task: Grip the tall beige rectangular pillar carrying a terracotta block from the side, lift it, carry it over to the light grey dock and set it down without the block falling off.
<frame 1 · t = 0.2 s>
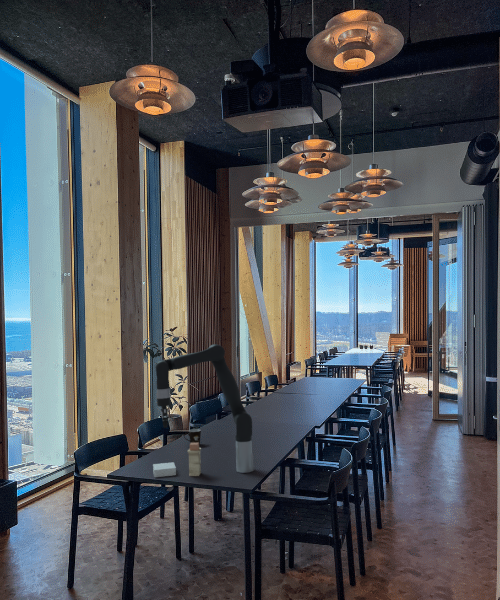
hand: (165, 426, 273), 29 cm above the table, fingers open, 8 cm apart
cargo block: (194, 449, 279), point 14 cm above the table, touching beige rectangular pillar
coffee mug: (193, 445, 347), on the table
beige rectangular pillar: (195, 474, 278), on the table, touching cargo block
dock: (164, 473, 282), on the table
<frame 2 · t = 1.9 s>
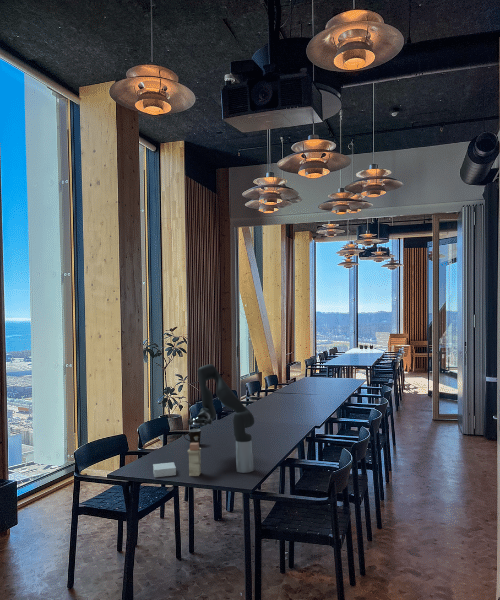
hand: (197, 423, 290), 26 cm above the table, fingers open, 8 cm apart
nothing on the table moved.
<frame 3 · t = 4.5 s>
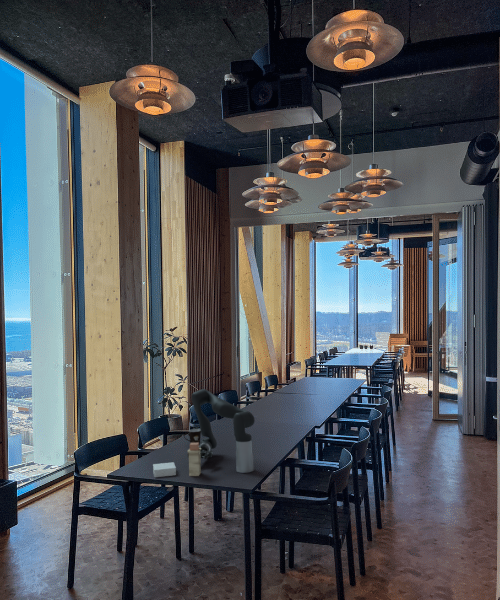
hand: (197, 457, 286), 7 cm above the table, fingers open, 8 cm apart
nothing on the table moved.
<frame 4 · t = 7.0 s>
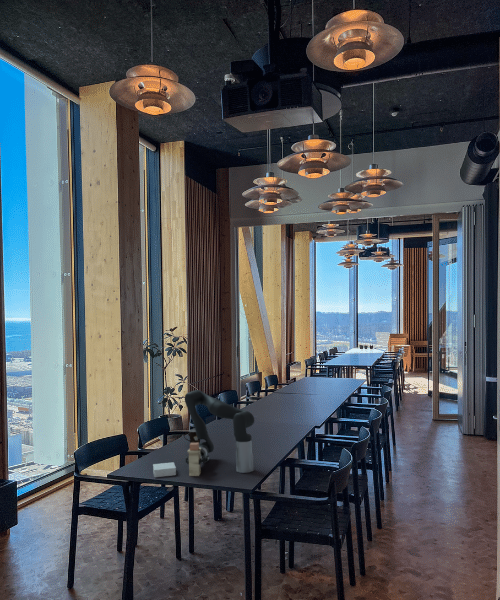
hand: (193, 462, 276), 7 cm above the table, fingers closed on beige rectangular pillar, 5 cm apart
beige rectangular pillar: (195, 474, 278), on the table, touching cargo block, gripper
everything else where it was.
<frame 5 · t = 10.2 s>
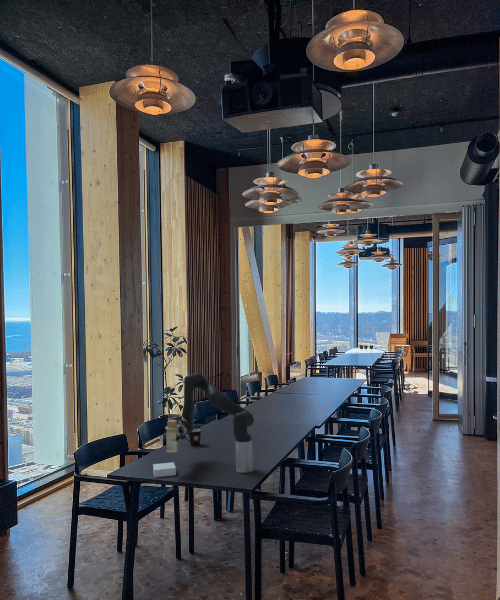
hand: (171, 439, 280), 20 cm above the table, fingers closed on beige rectangular pillar, 5 cm apart
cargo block: (172, 426, 282), point 27 cm above the table, touching beige rectangular pillar
beige rectangular pillar: (172, 451, 282), point 13 cm above the table, touching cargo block, gripper
everything else where it was.
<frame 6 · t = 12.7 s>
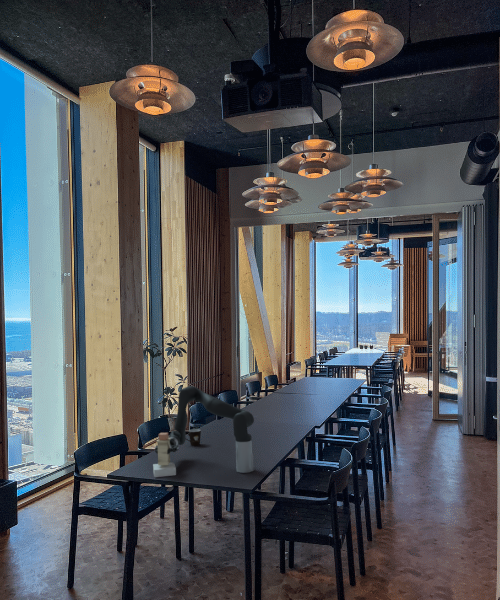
hand: (162, 452, 280), 12 cm above the table, fingers closed on beige rectangular pillar, 5 cm apart
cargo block: (163, 439, 283), point 19 cm above the table, touching beige rectangular pillar
beige rectangular pillar: (164, 463, 282), point 5 cm above the table, touching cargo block, gripper
everything else where it was.
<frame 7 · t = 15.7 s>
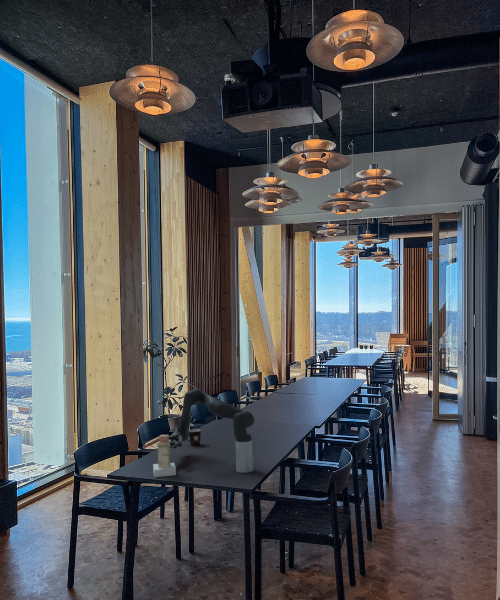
hand: (167, 447, 290), 13 cm above the table, fingers open, 8 cm apart
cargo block: (163, 441, 283), point 18 cm above the table, touching beige rectangular pillar
beige rectangular pillar: (164, 466, 282), point 4 cm above the table, touching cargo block, dock
everything else where it was.
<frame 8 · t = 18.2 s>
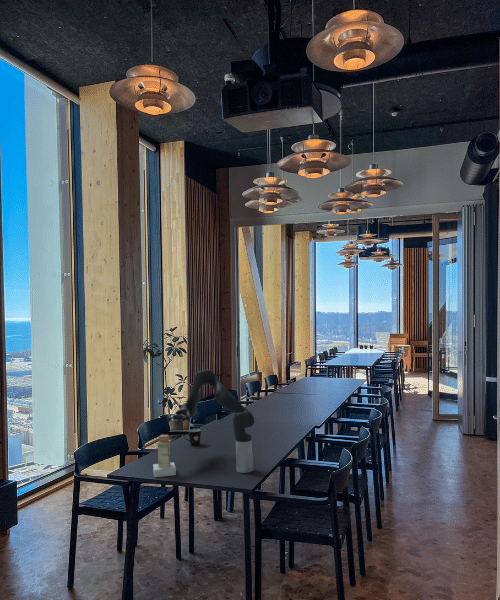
hand: (175, 420, 294), 28 cm above the table, fingers open, 8 cm apart
nothing on the table moved.
at the end: beige rectangular pillar inside the target area (0.1 cm from its centre), point 4.0 cm above the table; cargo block 0.1 cm off-centre on the beige rectangular pillar, point 14.0 cm above the beige rectangular pillar's base; beige rectangular pillar tilted 0° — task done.
